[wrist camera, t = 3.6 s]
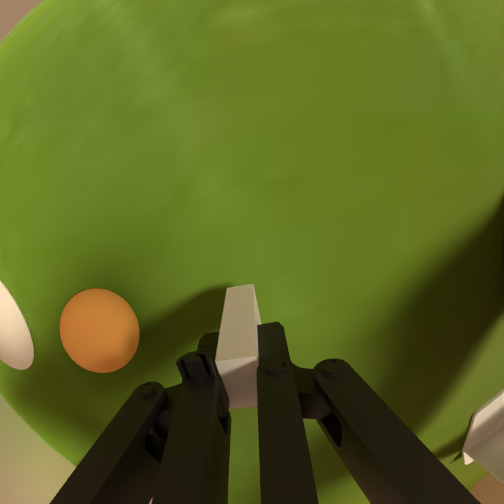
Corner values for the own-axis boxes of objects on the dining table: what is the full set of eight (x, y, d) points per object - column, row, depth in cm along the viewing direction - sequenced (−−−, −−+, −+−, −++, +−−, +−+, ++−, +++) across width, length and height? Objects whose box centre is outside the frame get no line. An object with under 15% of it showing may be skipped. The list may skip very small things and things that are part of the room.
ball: (135, 270, 17) (97, 308, 12) (160, 340, 19) (137, 391, 14) (74, 281, 18) (31, 315, 12) (100, 344, 19) (69, 387, 14)
